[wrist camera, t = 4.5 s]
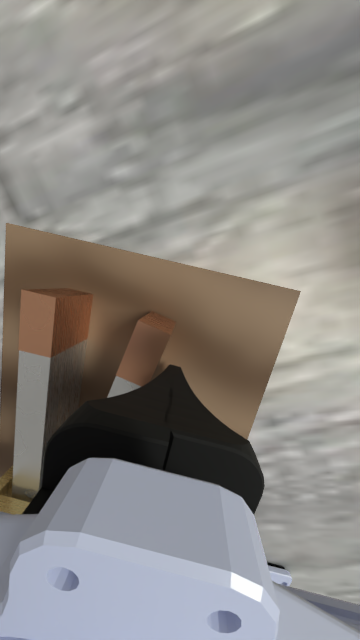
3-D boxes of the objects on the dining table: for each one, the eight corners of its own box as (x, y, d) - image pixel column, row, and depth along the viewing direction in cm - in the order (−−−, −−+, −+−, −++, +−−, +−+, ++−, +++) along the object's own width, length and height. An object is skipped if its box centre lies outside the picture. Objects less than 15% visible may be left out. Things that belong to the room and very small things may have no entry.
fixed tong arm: (95, 518, 15) (69, 581, 12) (46, 506, 15) (7, 565, 12) (133, 303, 11) (110, 310, 8) (68, 288, 11) (21, 289, 8)
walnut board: (205, 536, 16) (206, 553, 15) (9, 486, 16) (-3, 499, 15) (291, 290, 12) (300, 291, 11) (21, 228, 12) (6, 222, 11)
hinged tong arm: (94, 512, 15) (70, 571, 12) (67, 501, 15) (35, 556, 12) (181, 324, 11) (178, 338, 8) (146, 308, 11) (130, 316, 8)
